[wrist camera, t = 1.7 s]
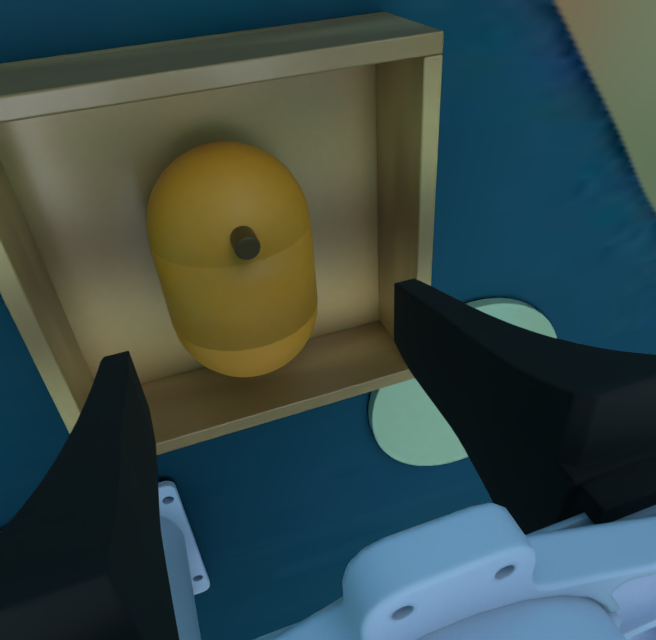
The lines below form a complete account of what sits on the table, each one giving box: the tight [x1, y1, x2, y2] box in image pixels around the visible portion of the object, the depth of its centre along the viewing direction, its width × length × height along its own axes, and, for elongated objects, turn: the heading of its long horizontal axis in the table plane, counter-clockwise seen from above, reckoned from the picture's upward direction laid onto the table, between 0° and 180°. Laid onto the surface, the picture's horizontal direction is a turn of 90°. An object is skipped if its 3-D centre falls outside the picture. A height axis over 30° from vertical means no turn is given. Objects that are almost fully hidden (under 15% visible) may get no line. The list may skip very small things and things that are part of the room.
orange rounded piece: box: [146, 141, 318, 377], centre depth 18 cm, size 8×5×6 cm, turn 4°
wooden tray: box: [0, 12, 444, 455], centre depth 19 cm, size 13×13×4 cm
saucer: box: [368, 298, 557, 466], centre depth 30 cm, size 11×11×1 cm
